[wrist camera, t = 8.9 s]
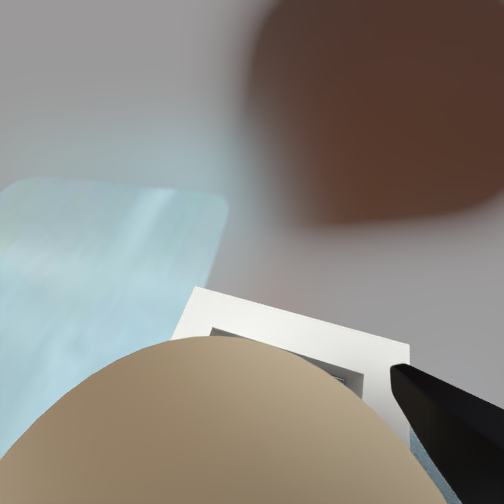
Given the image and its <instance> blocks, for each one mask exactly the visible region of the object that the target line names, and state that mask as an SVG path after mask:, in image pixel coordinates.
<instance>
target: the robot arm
mask: <svg viewBox="0 0 504 504" xmlns="http://www.w3.org/2000/svg"><path fill="white" fill-rule="evenodd" d="M390 382H391V391H392V394H393V396H394V398H395V400H396V402H397V403H398V405H399V407H400V408H401V410H402V412H403V413H404V415H405V417H406V418H407V420H408V422H409V423H410V425H411V427H412V428H413V430H414V432H415V434H416V435H417V437H418V439H419V440H420V442H421V444H422V445H423V447H424V449H425V450H426V452H427V453H428V455H429V457H430V458H431V460H432V461H433V463H434V464H435V466H436V467H437V468H438V470H439V471H440V473H441V474H442V476H443V477H444V478H445V480H446V481H447V483H448V484H449V485H450V487H451V488H452V490H453V491H454V492H455V494H456V495H457V497H458V498H459V499H460V501H461V502H462V504H504V409H502V408H500V407H497V406H495V405H493V404H491V403H489V402H487V401H485V400H483V399H480V398H478V397H476V396H474V395H472V394H470V393H467V392H466V391H463V390H461V389H459V388H456V387H455V386H453V385H450V384H449V383H446V382H444V381H442V380H440V379H438V378H436V377H434V376H431V375H429V374H427V373H425V372H423V371H421V370H419V369H417V368H414V367H412V366H410V365H408V364H405V363H401V364H396V365H392V366H391V367H390Z"/></svg>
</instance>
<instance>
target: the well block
mask: <svg viewBox="0 0 504 504" xmlns="http://www.w3.org/2000/svg"><path fill="white" fill-rule="evenodd" d="M195 336H226V337H236V338H245V339H249V340H253V341H257V342H261V343H265V344H269V345H272V346H275V347H277V348H280V349H282V350H285V351H287V352H290V353H292V354H295V355H297V356H299V357H301V358H303V359H304V360H306V361H308V362H310V363H312V364H313V365H315V366H317V367H319V368H321V369H322V370H324V371H326V372H327V373H328V374H330V375H331V376H334V377H338V378H341V379H344V381H343V380H340V379H337V378H335V379H337V380H338V381H339V382H341V383H342V384H344V385H345V386H346V387H348V388H349V389H350V390H352V391H353V392H354V393H355V394H356V395H357V396H358V397H359V398H360V399H362V400H363V401H364V402H365V403H366V404H367V405H368V406H369V407H370V408H371V409H373V410H374V411H375V412H376V413H377V414H378V415H379V416H380V417H381V418H382V419H383V420H384V421H385V422H386V424H387V425H388V426H389V427H390V428H391V429H392V430H393V431H394V433H395V434H396V435H397V436H398V437H399V438H400V439H401V440H402V441H403V443H404V444H405V445H406V446H407V447H408V448H409V449H410V423H409V422H408V420H407V418H406V417H405V415H404V413H403V412H402V410H401V408H400V407H399V405H398V403H397V402H396V400H395V398H394V396H393V394H392V391H391V382H390V367H391V366H392V365H396V364H401V363H405V364H408V365H410V355H409V354H410V348H409V344H405V343H401V342H397V341H394V340H390V339H386V338H383V337H379V336H376V335H372V334H368V333H365V332H361V331H357V330H353V329H350V328H347V327H343V326H339V325H336V324H332V323H328V322H325V321H321V320H317V319H314V318H310V317H306V316H303V315H299V314H295V313H291V312H288V311H284V310H281V309H277V308H273V307H270V306H266V305H262V304H259V303H255V302H251V301H248V300H244V299H241V298H237V297H233V296H230V295H226V294H222V293H218V292H215V291H211V290H208V289H204V288H200V287H197V286H195V288H194V290H193V292H192V294H191V296H190V299H189V301H188V303H187V305H186V307H185V309H184V312H183V314H182V316H181V318H180V320H179V322H178V325H177V327H176V329H175V331H174V333H173V336H172V338H171V340H176V339H182V338H188V337H195Z"/></svg>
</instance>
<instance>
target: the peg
mask: <svg viewBox="0 0 504 504" xmlns="http://www.w3.org/2000/svg"><path fill="white" fill-rule="evenodd" d="M0 504H448V503H447V501H446V500H445V498H444V497H443V495H442V493H441V492H440V490H439V489H438V487H437V486H436V485H435V483H434V482H433V480H432V479H431V478H430V476H429V475H428V474H427V472H426V471H425V470H424V468H423V467H422V466H421V464H420V463H419V462H418V460H417V459H416V457H415V456H414V455H413V453H412V452H411V451H410V449H409V448H408V447H407V446H406V445H405V444H404V443H403V441H402V440H401V439H400V438H399V437H398V436H397V435H396V434H395V433H394V431H393V430H392V429H391V428H390V427H389V426H388V425H387V424H386V422H385V421H384V420H383V419H382V418H381V417H380V416H379V415H378V414H377V413H376V412H375V411H374V410H373V409H371V408H370V407H369V406H368V405H367V404H366V403H365V402H364V401H363V400H362V399H360V398H359V397H358V396H357V395H356V394H355V393H354V392H353V391H352V390H350V389H349V388H348V387H346V386H345V385H343V384H342V383H341V382H339V381H338V380H337V379H335V378H334V377H332V376H331V375H330V374H328V373H327V372H326V371H324V370H322V369H321V368H319V367H317V366H315V365H313V364H312V363H310V362H308V361H306V360H304V359H303V358H301V357H299V356H297V355H295V354H292V353H290V352H287V351H285V350H282V349H280V348H277V347H275V346H272V345H269V344H265V343H261V342H257V341H253V340H249V339H245V338H236V337H226V336H195V337H188V338H182V339H176V340H170V341H166V342H163V343H160V344H156V345H153V346H150V347H147V348H143V349H141V350H139V351H136V352H134V353H132V354H130V355H127V356H125V357H123V358H121V359H119V360H116V361H115V362H113V363H111V364H110V365H108V366H106V367H105V368H103V369H101V370H99V371H98V372H96V373H94V374H93V375H91V376H90V377H88V378H87V379H86V380H84V381H83V382H81V383H80V384H79V385H77V386H76V387H75V388H73V389H72V390H71V391H69V392H68V393H66V394H65V395H64V396H63V397H62V398H61V399H59V400H58V401H57V402H56V403H55V404H54V405H53V406H52V407H50V408H49V409H48V410H47V411H46V412H45V413H44V414H43V415H41V416H40V417H39V418H38V419H37V420H36V421H35V422H34V423H33V424H32V425H31V426H30V428H29V429H28V430H27V431H26V432H25V433H24V434H23V435H22V436H21V437H20V438H19V439H18V440H17V441H16V442H15V443H14V444H13V445H12V447H11V448H10V449H9V450H8V451H7V453H6V454H5V455H4V456H3V457H2V459H1V460H0Z"/></svg>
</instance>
